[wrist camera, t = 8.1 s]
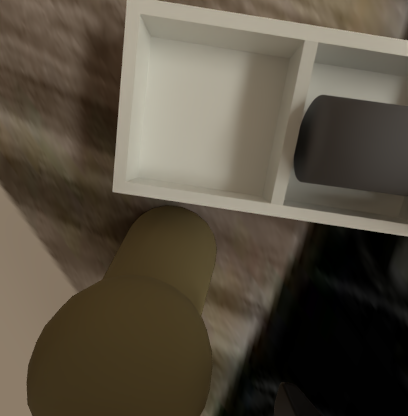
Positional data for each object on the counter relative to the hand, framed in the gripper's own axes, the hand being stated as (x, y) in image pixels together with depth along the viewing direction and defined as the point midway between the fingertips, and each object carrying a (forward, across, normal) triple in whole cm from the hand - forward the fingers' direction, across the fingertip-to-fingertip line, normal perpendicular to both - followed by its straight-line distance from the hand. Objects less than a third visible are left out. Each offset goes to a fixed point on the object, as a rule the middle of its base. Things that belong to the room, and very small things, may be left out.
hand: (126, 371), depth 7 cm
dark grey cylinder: (+6, -9, -8) cm, 14 cm away
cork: (+10, 0, 0) cm, 10 cm away
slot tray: (+10, -5, -8) cm, 14 cm away
